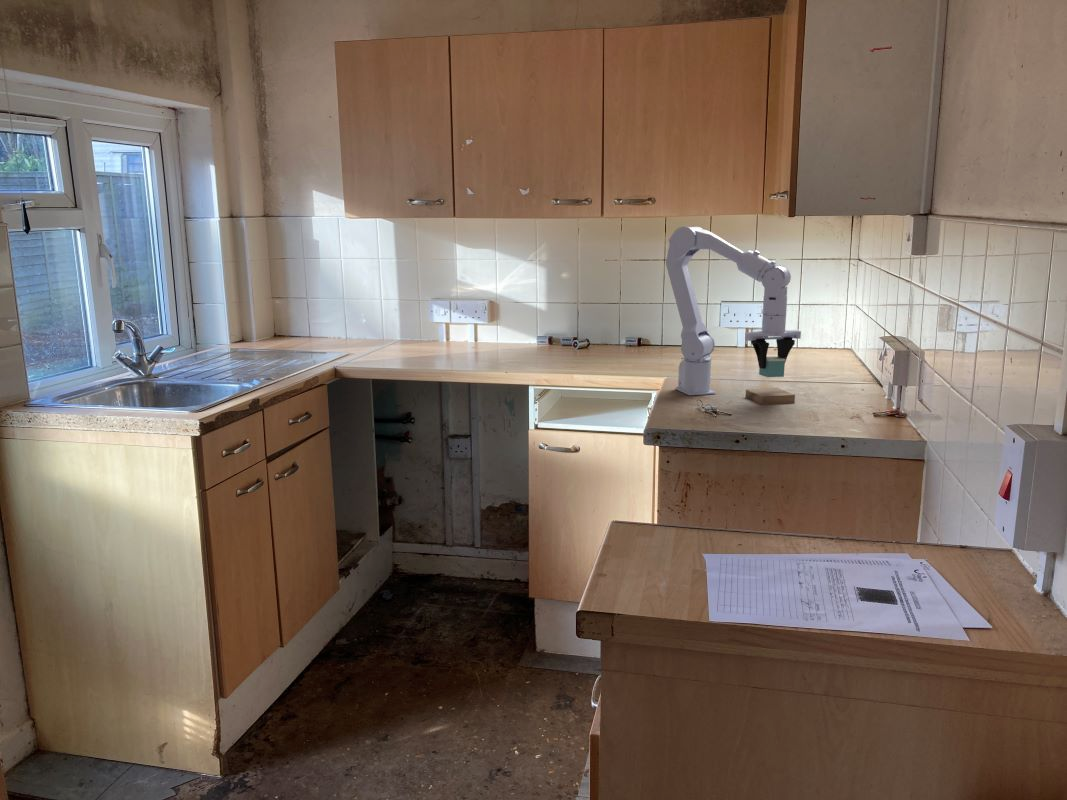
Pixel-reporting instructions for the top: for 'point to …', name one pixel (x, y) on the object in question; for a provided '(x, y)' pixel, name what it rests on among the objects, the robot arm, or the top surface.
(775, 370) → the teal tin
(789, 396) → the walnut block
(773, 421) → the top surface
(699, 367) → the robot arm
